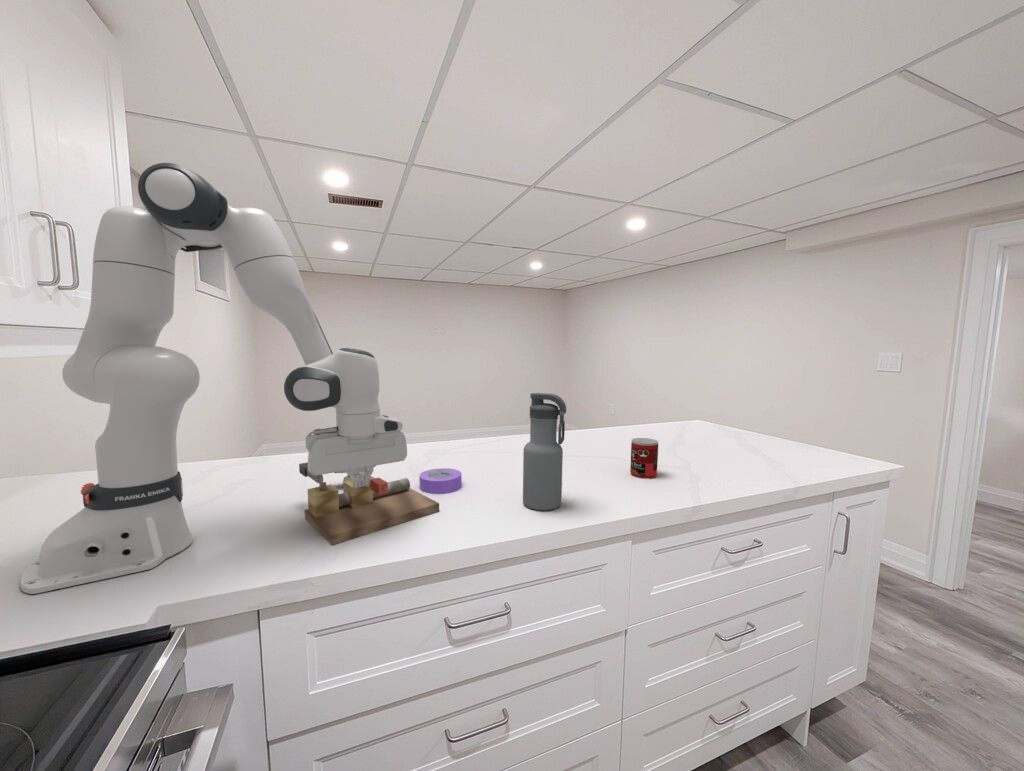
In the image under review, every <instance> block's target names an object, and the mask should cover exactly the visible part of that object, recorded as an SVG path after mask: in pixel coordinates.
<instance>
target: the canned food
mask: <svg viewBox="0 0 1024 771" xmlns="http://www.w3.org/2000/svg"><path fill="white" fill-rule="evenodd" d="M630 446H631V447H630V467H629V468H630V469H629V470H630V471H629V472H630V475H631V476H633V477H635V478H638V479H644V478H650V479H654V477H655V478H656V477H657V474H658V461H659V460H658V459H659V458H658V457H659V441H658V440H656V439H653V438H648V437H647V438H646V437H636V438H632V439H631V444H630Z"/></svg>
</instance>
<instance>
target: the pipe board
mask: <svg viewBox="0 0 1024 771" xmlns="http://www.w3.org/2000/svg"><path fill="white" fill-rule="evenodd" d="M298 464H299V466H298V467H299V474H300V475H302V476H303V477H305V478H307V477H309V478H310V479H311V480H312V481H314V482H315V483H317V484H318V486H317V487H312V488H308V489H307V505H308V506H307V507H308V508H306V509H304V519H305V520H306V521H307V522H308V523H309V524H310V525H311V526H312V527H313V528H314V529H315V530H316V531H317V532H318V533H319V534H320V535H321V536H323V538H324V539H326V541H327V542H328V543H329V544H330V545H331V546H334V545H337V544H340V543H343V542H346V541H347V542H348V541H350V540H353V539H356V538H359V537H363V536H366V535H369V534H372V533H375V532H379V531H382V530H385V529H389V528H391V527H394V526H397V525H400V524H404V523H407V522H410V521H414V520H416V519H419V518H423V517H425V516H429V515H432V514H436V513H438V512H440V502H438V501H435V500H433V499H432V498H430V497H428V496H426V495H424V494H422V493H420V492H418V491H417V490H415V489H413V488H411V484H410V483H411V482H410V479H409V478H407V477H405V478H401V479H397V480H393V481H387V482H388V492H387V493H383V494H378V493H376V492H374V491H373V490H371V489H370V486H367V487H362V488H357V489H354V488H353V480H348V481H343V480H342V484H343V485H342V486H343V492H341V493H339V489H338V488H337V487H335V486H334V485H332V484H331V483H330V484H327V482H326V481H324V474H322V475H316V476H315V475H313V474H312V473H310V472H309V470H308V461H307V462H301V463H298Z"/></svg>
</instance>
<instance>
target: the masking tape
mask: <svg viewBox="0 0 1024 771" xmlns="http://www.w3.org/2000/svg"><path fill="white" fill-rule="evenodd" d="M418 479H419V490H420V491H421V492H423V493H427V494H432V495H443V494H450V493H453V492H456V491H459V490H460V489H461V488H462V487H463V486H462V482H463V480H462V472H461V471H460V470H459V469H455V468H446V467H445V468H442V467H441V468H433V469H428V470H424V471H422V472H421V473H420V474H419V478H418Z"/></svg>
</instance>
